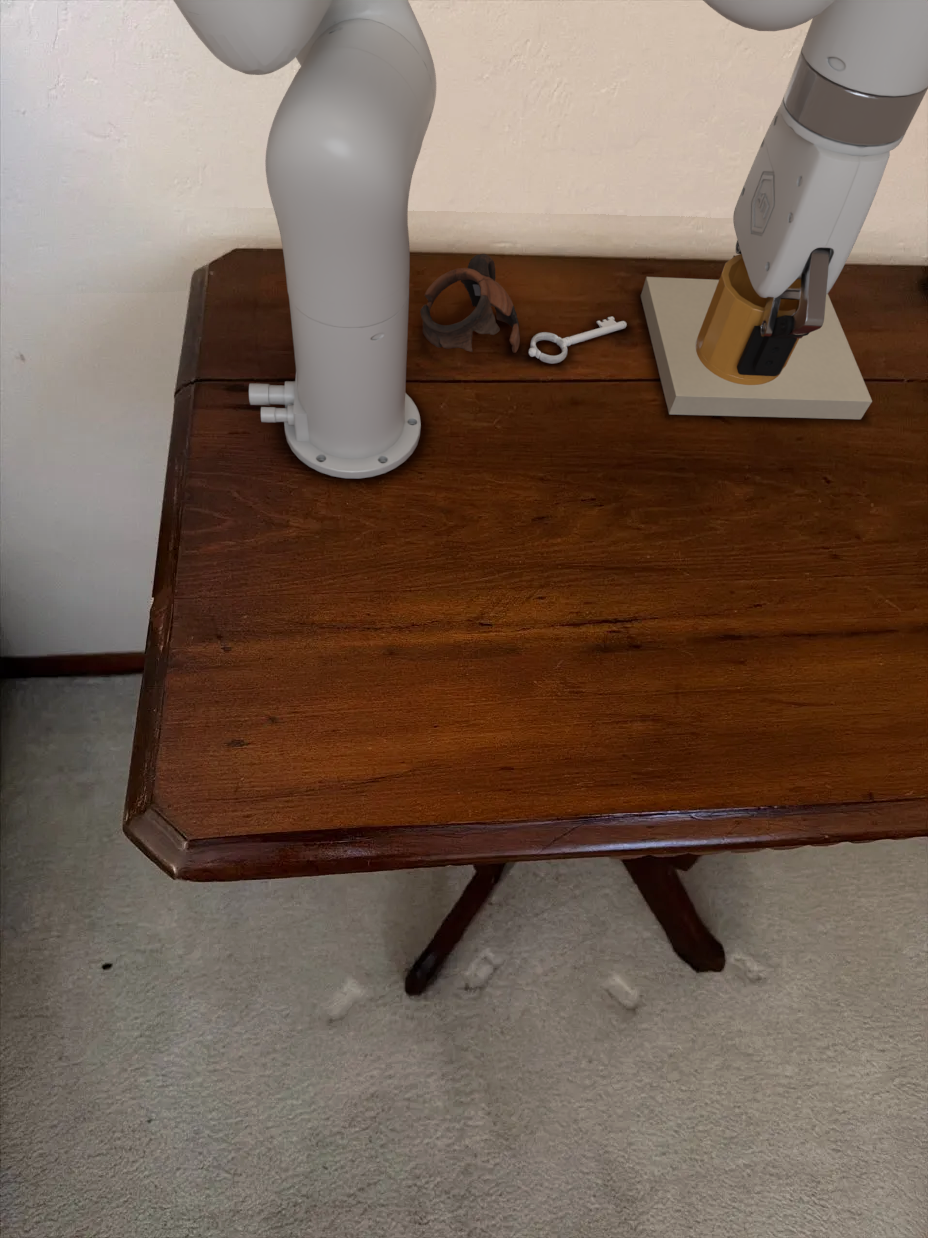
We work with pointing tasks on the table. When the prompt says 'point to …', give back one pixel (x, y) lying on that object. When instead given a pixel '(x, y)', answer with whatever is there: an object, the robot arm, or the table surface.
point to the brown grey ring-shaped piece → (482, 297)
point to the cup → (735, 323)
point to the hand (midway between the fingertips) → (747, 335)
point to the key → (572, 339)
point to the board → (805, 388)
